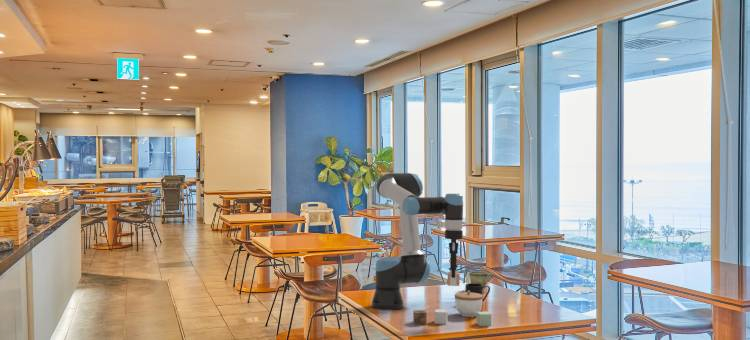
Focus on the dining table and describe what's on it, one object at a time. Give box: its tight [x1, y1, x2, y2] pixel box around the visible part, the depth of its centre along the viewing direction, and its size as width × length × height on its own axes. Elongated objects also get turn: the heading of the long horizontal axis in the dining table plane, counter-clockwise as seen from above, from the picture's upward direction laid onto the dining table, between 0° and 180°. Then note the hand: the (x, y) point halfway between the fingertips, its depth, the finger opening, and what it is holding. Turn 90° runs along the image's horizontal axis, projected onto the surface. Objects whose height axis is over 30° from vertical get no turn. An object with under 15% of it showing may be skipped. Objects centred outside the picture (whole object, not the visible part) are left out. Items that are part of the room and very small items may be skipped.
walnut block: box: [412, 309, 427, 326], centre depth 272 cm, size 5×5×5 cm
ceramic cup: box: [468, 270, 494, 292], centre depth 347 cm, size 13×10×10 cm
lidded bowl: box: [454, 290, 484, 318], centre depth 288 cm, size 13×13×11 cm
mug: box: [465, 283, 491, 304], centre depth 312 cm, size 8×12×10 cm
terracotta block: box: [447, 271, 461, 287], centre depth 273 cm, size 5×5×5 cm
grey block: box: [434, 308, 449, 325], centre depth 274 cm, size 5×5×5 cm
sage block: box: [475, 311, 492, 327], centre depth 271 cm, size 5×5×5 cm
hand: (453, 283), depth 273 cm, fingers closed on terracotta block, 5 cm apart
